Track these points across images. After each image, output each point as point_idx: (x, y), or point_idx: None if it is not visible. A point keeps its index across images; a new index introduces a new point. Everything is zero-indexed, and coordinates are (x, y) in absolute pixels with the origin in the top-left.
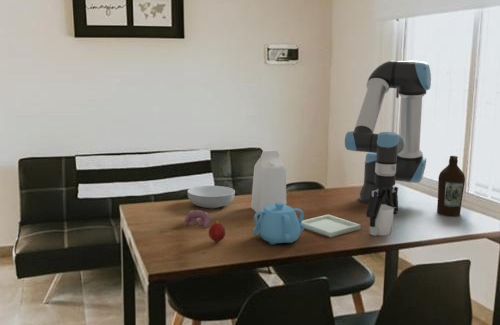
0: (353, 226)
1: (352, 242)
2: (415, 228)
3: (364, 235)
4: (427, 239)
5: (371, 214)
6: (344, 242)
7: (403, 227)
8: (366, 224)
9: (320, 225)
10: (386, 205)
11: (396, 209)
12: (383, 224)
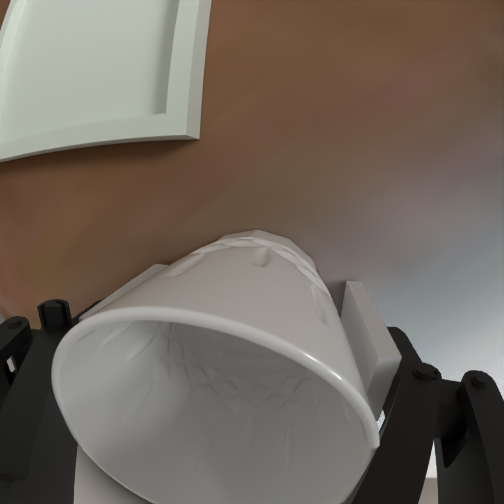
0: (107, 136)
1: (21, 273)
2: (486, 366)
3: (119, 249)
4: None
5: (12, 380)
6: (2, 248)
7: (474, 320)
8: (350, 90)
9: (63, 3)
10: (370, 447)
11: (435, 448)
12: (178, 386)
